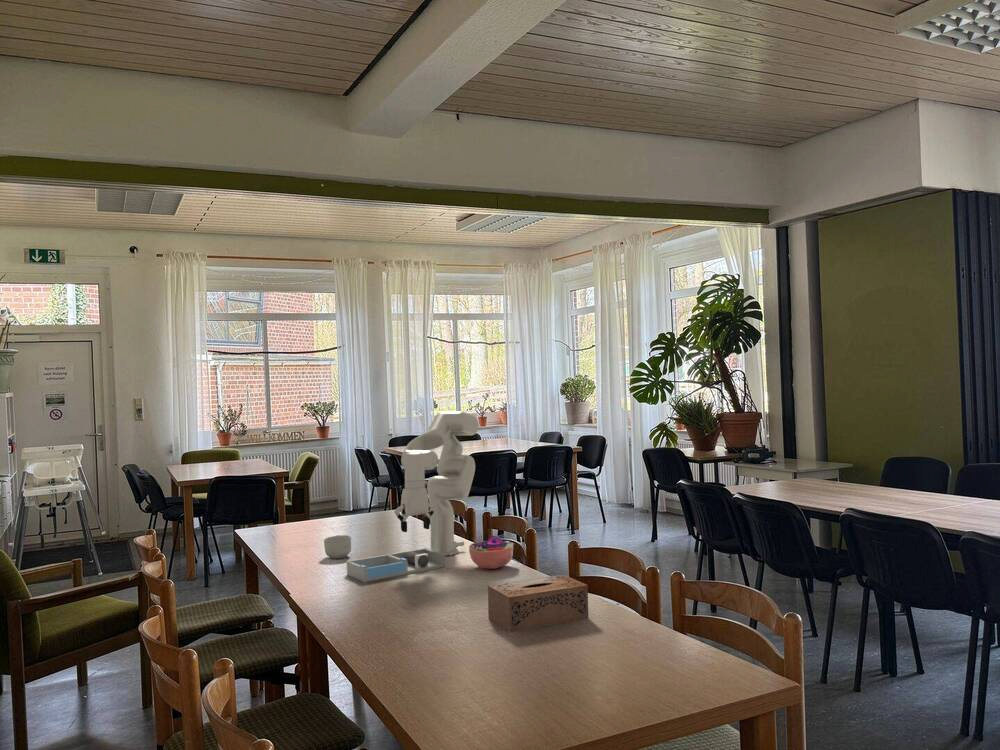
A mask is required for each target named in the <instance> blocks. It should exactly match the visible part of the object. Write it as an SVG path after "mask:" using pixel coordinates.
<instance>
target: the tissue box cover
mask: <svg viewBox="0 0 1000 750" xmlns="http://www.w3.org/2000/svg"><path fill="white" fill-rule="evenodd" d="M588 590H589V586H588V584H586V583H584V582H581V581H579V580H577V579H574V578H572V577H570V576H568V575H565V574H558V575H552V576H545V577H539V578H537V577H536V578H532V579H531V578H530V579H524V580H517V581H511V582H509V581H508V582H504V583H503V582H502V583H497V584H489V585H487V605H488V606H487V607H488V608H487V609H488V619H489V620H490V619H491V621H492V620H493V621H492V622H493V623H495V624H497V625H498V626H500V627H501V626H502V627H501V628H502V629H504V628H505V629H504V630H506V631H508V632H509V631H512V632H516V630H517V631H522V630H521V629H523V630H527V629H526V628H529V629H534V627H535V628H540V626H541V627H546V626H545V625H547V626H552V625H557V624H562V623H563V622H564V623H569V621H570V622H575V621H574V620H576V621H580V620H579V619H582V620H585V619H584V618H587V619H589V591H588Z"/></svg>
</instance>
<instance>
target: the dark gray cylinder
mask: <svg viewBox="0 0 1000 750" xmlns="http://www.w3.org/2000/svg"><path fill="white" fill-rule="evenodd" d="M408 551H409V552H407V553H406V555H405V559H407V561H408V563H411V564H414V565H415V567H416V568H421V567H426V566H428V554H426V553H424V554H419V553H416V552H412V551H411V550H408Z"/></svg>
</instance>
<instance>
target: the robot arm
mask: <svg viewBox="0 0 1000 750" xmlns="http://www.w3.org/2000/svg"><path fill="white" fill-rule="evenodd" d="M479 424H480V423H479V420H478V418H477V417H476V416H475V415H473V414H472V413H471V414H470V413H468V412H464V411H452V410H451V411H440V412H438V413H437V414H436V415H435V416H434V418H433V420H432V421H431V423H430V425H429V427H428V429H426V431H425V432H424V433H422V434H420V435H419V436H418V435H417V437H415V438H413V439H412V440H410V441H409V442H408V443H407V445H406V447H405V448H404V450H403V452H402V455H401V459H400V462H401V465H402V467H403V468H404V488H403V489H402V492H401V499H400V505H399V506H398V507H397V508H396V509H393V510H394V514H395V515H396V516H395V517H396V518H397V519H398V520H399V521H400V530H401V532H403V533H407V532H408V521H407V519H408V518H409V517H414V516H420V515H423V529H424V530H430V548H429V549H430V550H433V551H436V552H439V553H443V554H445V557H446V556H448V555H449V556H454V555H457V554H458V553H459V549H458V547H463V546H465V542H464V541H463V540H461V541H456V540H455V533H454V532H455V530H454V529H455V528H454V527H455V525H454V523H455V522H454V508H453V505H452V503H451V500H452V501H453V500H456V501H458V500H459V501H461V500H466V499H467V498H468V497H469V494H470V491H471V488H472V484H473V480H474V477H475V471H476V462H475V458H474V457H472V456H471V455H468V454H462V453H463V446H462V444H461V442H460V440H458V439H457V437H456V436H474V435H476V434H477V433H478V431H479V428H480V427H479V426H480V425H479ZM439 447H442V449H441V452H440V456H439V457H438V454H437V453H436V452H435V451H433V450H435V449H438V448H439ZM435 468H436V472H437V474H438V475H435V476H433V477H431V478H429V480H428V481H427V480H426V479H425V478H426V477H425V476H426V475H425V472H426V471H430V470H434V469H435ZM457 552H458V553H457ZM456 553H457V554H456ZM453 554H454V555H453Z"/></svg>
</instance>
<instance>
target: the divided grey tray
mask: <svg viewBox="0 0 1000 750" xmlns="http://www.w3.org/2000/svg"><path fill="white" fill-rule="evenodd" d="M430 549H431V548H428V547H423V548H418V549H411V550H405V551H400V552H393V553H388V554H382V555H381V554H380V555H376V556H370V557H364V558H363V557H362V558H358V559H352V560H347V561H346V575H347V576H349V577H351V578H354V579H356V580H358V581H360V582H364V583H367V582H371V581H372V582H373V581H377V580H383V579H387V578H388V579H389V578H393V577H399V576H403V575H404V576H405V575H408V574H414V573H415V574H416V573H419V572H426V571H431V570H430V569H432V570H435V568H437V569H441V568H440V567H442V568H446V556H445V554H443V553H439V552H436V551H433V550H430ZM409 551H412V552H416V553H419V554H424V553H426V554H428V566H426V567H421V568H416V567H415V565H414V564H411V563H408V561H407V559H405V555H406V553H407V552H409ZM425 570H426V571H425Z"/></svg>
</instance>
